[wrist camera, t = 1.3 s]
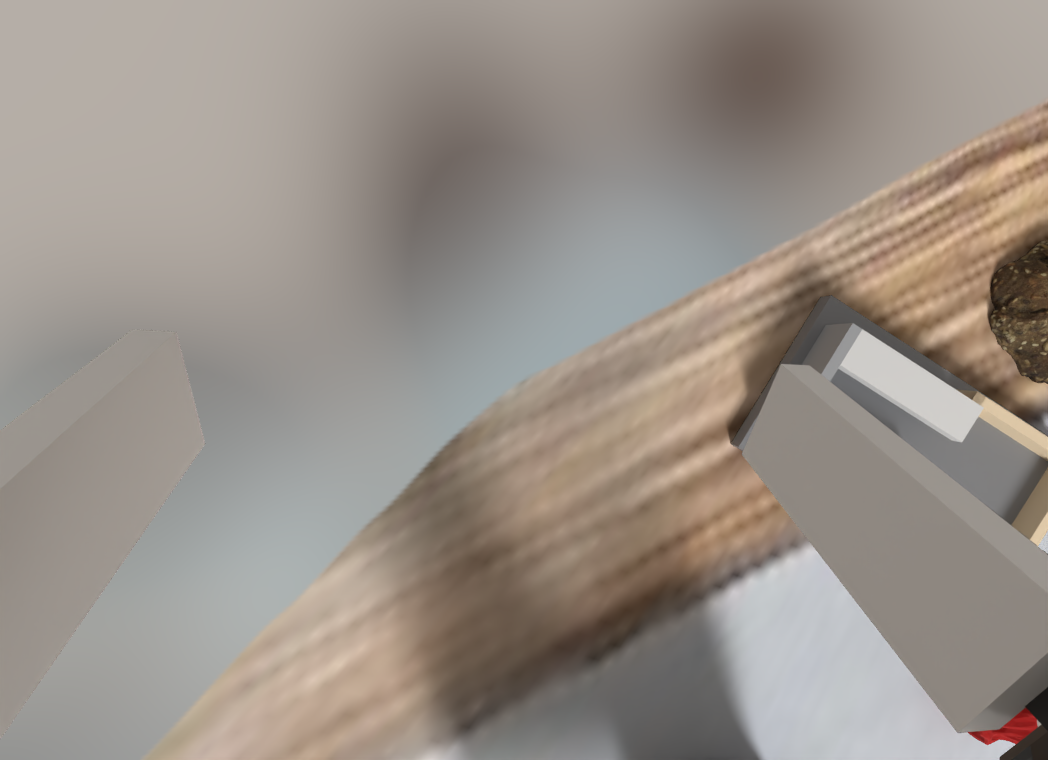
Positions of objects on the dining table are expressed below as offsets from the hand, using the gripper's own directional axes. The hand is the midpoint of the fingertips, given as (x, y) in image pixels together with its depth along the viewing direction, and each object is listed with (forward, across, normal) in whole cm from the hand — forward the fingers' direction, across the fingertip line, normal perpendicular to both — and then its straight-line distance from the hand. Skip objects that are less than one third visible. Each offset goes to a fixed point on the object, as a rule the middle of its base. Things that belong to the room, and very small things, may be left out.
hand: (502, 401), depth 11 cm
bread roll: (+29, -56, +6) cm, 63 cm away
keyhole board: (+23, -42, +19) cm, 52 cm away
